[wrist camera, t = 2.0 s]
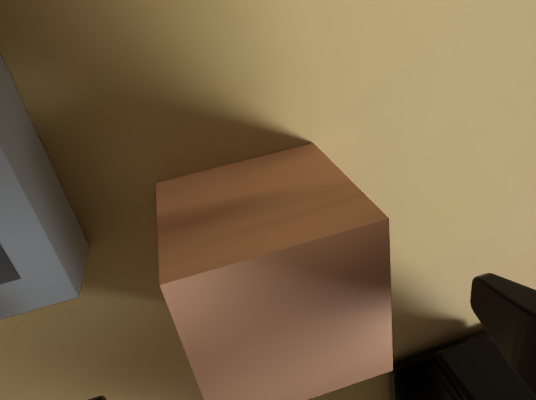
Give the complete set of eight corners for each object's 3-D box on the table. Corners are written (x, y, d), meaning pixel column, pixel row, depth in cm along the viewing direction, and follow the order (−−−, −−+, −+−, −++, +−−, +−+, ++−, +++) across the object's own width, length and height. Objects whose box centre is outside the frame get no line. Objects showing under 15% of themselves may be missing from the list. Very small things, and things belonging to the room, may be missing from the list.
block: (326, 264, 16) (393, 370, 12) (196, 303, 15) (215, 431, 11) (311, 141, 13) (388, 218, 9) (155, 181, 13) (159, 284, 8)
